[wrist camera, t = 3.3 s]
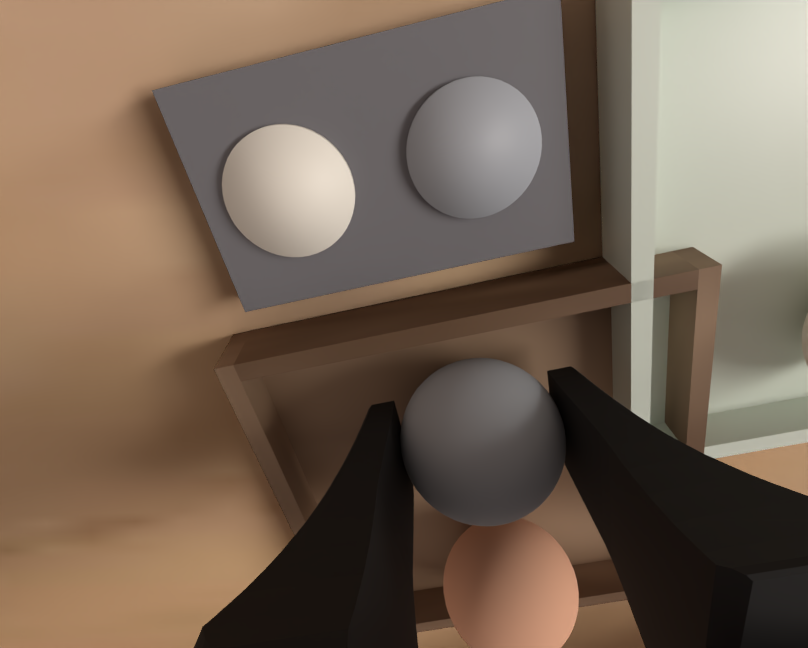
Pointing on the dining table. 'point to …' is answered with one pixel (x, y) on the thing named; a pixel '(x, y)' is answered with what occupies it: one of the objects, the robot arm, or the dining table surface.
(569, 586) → the terracotta ball
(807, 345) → the cream ball
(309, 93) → the tile
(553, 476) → the grey ball
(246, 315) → the dining table surface
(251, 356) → the walnut tray
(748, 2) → the sage tray
